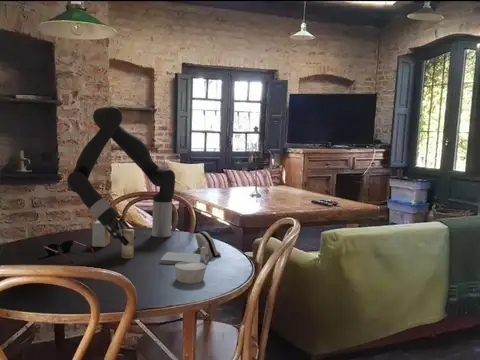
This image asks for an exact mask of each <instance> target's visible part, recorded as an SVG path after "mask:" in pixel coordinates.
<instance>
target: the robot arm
mask: <svg viewBox="0 0 480 360" xmlns="http://www.w3.org/2000/svg"><path fill="white" fill-rule="evenodd" d="M92 115H93V116H92V117H93V118H92V119H93V121H94V123H95V125H96V126H97V127H98V128H99V130H98V131H97V132H96V133H95V135H94V136H93V137H92V138H91V139H90V141H88V142H87V144H85V146H84V148H83V149H82V150H81V153H80V154H79V156H78V159H77V161H76V163H75V167H74V169H73V171H72V172H70V174H68V176H67V178H66V182H67V183H66V185H67V188H68V190H69V191H71V192H73V193H76V194H77V195H78V196H79V198H80V199H81V202H82V203H83V204H84V205H85V206H86V208H87V209H88V210H89V211H90V212H91V214H92V215H93V217H94V218H95V219H96V221H99V222H100V223H101V224H102V225H103V226H104V227H105V226H107V225H108V226H107V227H106V229H107V231H108V232H109V233H110V236H111V237H112V238H113V239H114V240H119V241H120V242H121V244H122V243H123V244H124V246H126V245H127V244H128V243H129V241H128V240H127V239H126V238H125V237H124V236H123V234H122V230H123V229H131V227H130V225H128V223H127V222H126V221H125V220H124V219H123V218H121V217H120V219H118V218H117V217H118V216H119V213H118V212H117V211H116V210H115V209H114V207H113V206H111V204H110V203H109V202H108V201H107V199H106V200H105V198H103V197H102V196H101V194H100V193H99V192H98V191H97V190H96V189H95V188H94V186H93V185H92V183H91V181H89V178H90V176H91V173H92V172H93V171H92V170H93V169H94V168H95V166H96V163H97V162H98V159H99V158H100V156H101V153H102V152H103V150H104V148H105V147H106V145H107V144H108V142H109V141H110V140H111V139H112V140H113V142H114V143H115V144H117V146H118V147H119V148H120V149H121V150H122V151H123V152H124V153H125V154H126V155H127V157H128V158H130V160H131V161H132V162H134V164H135V165H136V166H137V167H138V168H140V170H141V171H142V172H143V173H144V174H145V176H146V177H147V179H148V180H149V181H150V183H151V184H152V185H154V186H155V187H159V191H158V193H156V194H154V195H153V196H152V197H153V198H152V223H151V224H152V225H151V226H152V227H151V228H152V231H151V235H152V237H155V238H170V237H171V236H172V216H173V215H172V214H173V213H172V212H173V198H174V195H175V186H176V175H175V172H174V171H173V170H172V169H170V168H164V167H163V168H162V167H160V166H158V164H157V163H155V162H154V160H153V159H152V156H151V151H150V150H149V148H148V146H147V145H146V144H145V143H144V142H143V141H142V139H141V138H139V137H138V136H137V135H135V134H134V133H132V132H130V131H128V130H126V128H124V127H123V126H121V125H122V122H123V114H122V112H121V110H120V109H119V108H118V107H116V106H103V107H99V108H96V109H95V110H94V111H93V114H92ZM136 238H137V237H136V236H135V235H134V240H135V239H136Z"/></svg>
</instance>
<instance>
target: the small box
mask: <svg viewBox="0 0 480 360" xmlns="http://www.w3.org/2000/svg"><path fill="white" fill-rule="evenodd" d="M107 226H108V225H107ZM107 226H105V227H104V226H103V225H102V224H101V223H100V222H99V221H98V220H96V221H94V222H93V223H92V238H91V239H92V243H91V244H92V247H101V248H105V247H107V246H108V245H109V244H110V243H111V241H110V240H111V234H110V233H109V232H108V231H107V229H106V227H107Z"/></svg>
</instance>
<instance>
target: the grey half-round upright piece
mask: <svg viewBox="0 0 480 360" xmlns="http://www.w3.org/2000/svg"><path fill="white" fill-rule="evenodd" d="M195 240H196V244H197V247H198V248H199V250H201V247H204V242H208V243H209V247H208V255H210V258H211V259H212V258H213V257H214V256H218V257H222V255H221V253H220V251H218V250H217V248H216V244H215V242H214V240H213V238H212V236H210V234H209V233H208V232H206V231H200V232H198V233H196V234H195Z"/></svg>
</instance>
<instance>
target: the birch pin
mask: <svg viewBox="0 0 480 360" xmlns="http://www.w3.org/2000/svg"><path fill="white" fill-rule="evenodd" d="M122 234H123V236H124V237H125V238H126V239H127V240H128V241H129V243H128V244H127V245H126V246H124V244H123V243H122V242H121V253H120V254H121V257H120V258H122V259H132V258H134V249H135V239H134V236H135V229H133V228H132V229H123V230H122Z"/></svg>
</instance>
